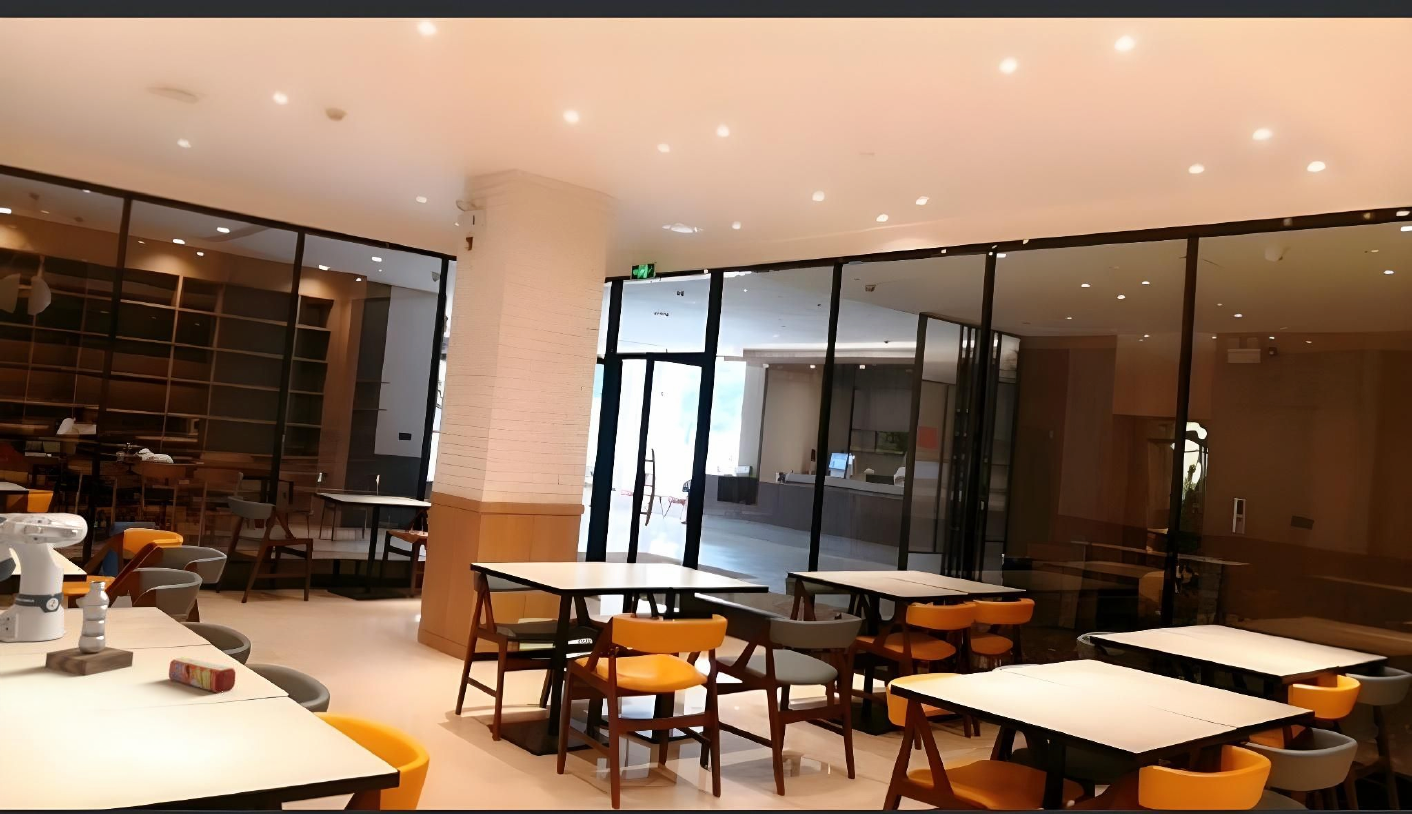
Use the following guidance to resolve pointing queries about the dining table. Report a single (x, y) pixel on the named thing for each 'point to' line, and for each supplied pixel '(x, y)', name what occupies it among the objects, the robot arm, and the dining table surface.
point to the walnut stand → (88, 660)
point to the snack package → (202, 674)
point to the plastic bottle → (94, 618)
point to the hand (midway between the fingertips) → (58, 532)
